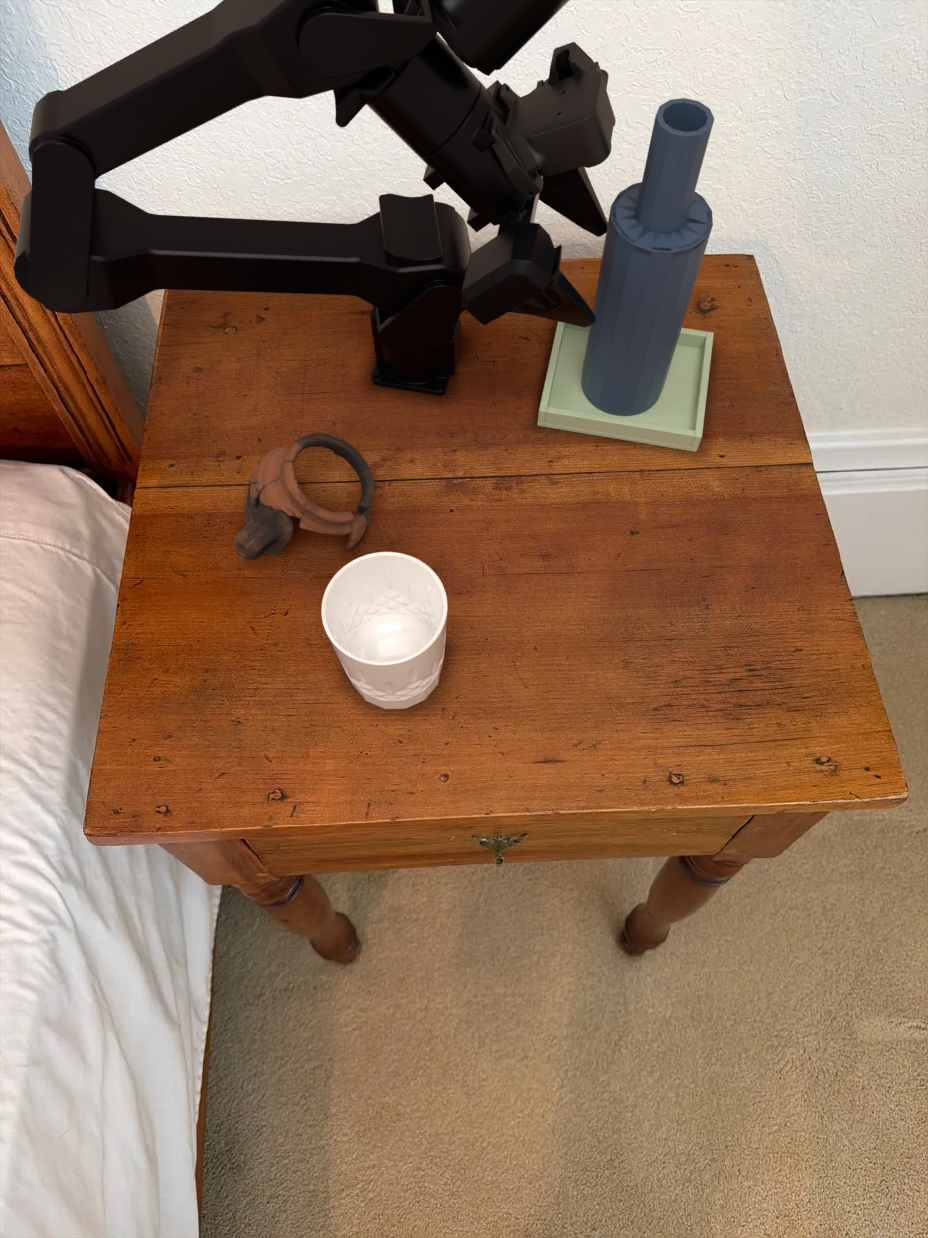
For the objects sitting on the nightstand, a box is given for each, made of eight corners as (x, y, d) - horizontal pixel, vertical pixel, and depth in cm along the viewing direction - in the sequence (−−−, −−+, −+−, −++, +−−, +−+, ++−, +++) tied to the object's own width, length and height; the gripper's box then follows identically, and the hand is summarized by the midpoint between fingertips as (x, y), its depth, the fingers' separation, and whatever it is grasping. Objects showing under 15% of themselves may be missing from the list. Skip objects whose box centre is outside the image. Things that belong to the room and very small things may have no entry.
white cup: (437, 728, 62) (432, 675, 53) (329, 706, 63) (306, 651, 54) (460, 628, 65) (458, 562, 56) (357, 609, 66) (339, 541, 57)
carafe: (621, 430, 73) (687, 171, 51) (564, 380, 75) (604, 112, 53) (678, 387, 74) (765, 120, 53) (621, 340, 77) (683, 65, 55)
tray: (537, 425, 73) (538, 410, 72) (558, 325, 78) (560, 308, 76) (696, 452, 72) (702, 437, 70) (708, 348, 77) (713, 332, 75)
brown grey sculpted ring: (278, 454, 73) (315, 399, 66) (364, 532, 74) (409, 485, 68) (184, 543, 66) (216, 491, 59) (282, 627, 67) (324, 585, 61)
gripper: (521, 144, 46) (684, 325, 56) (565, -57, 54) (702, 130, 63) (386, 247, 54) (549, 391, 63) (442, 57, 62) (579, 210, 71)
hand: (598, 276), depth 65 cm, fingers open, 9 cm apart
